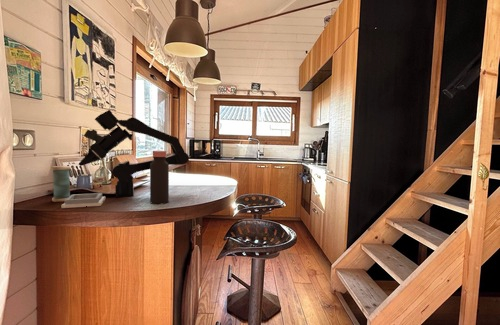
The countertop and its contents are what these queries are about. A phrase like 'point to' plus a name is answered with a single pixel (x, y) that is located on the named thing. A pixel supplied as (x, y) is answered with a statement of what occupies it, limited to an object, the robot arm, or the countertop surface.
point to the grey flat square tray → (84, 200)
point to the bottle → (159, 178)
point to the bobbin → (61, 183)
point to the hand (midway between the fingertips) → (80, 163)
